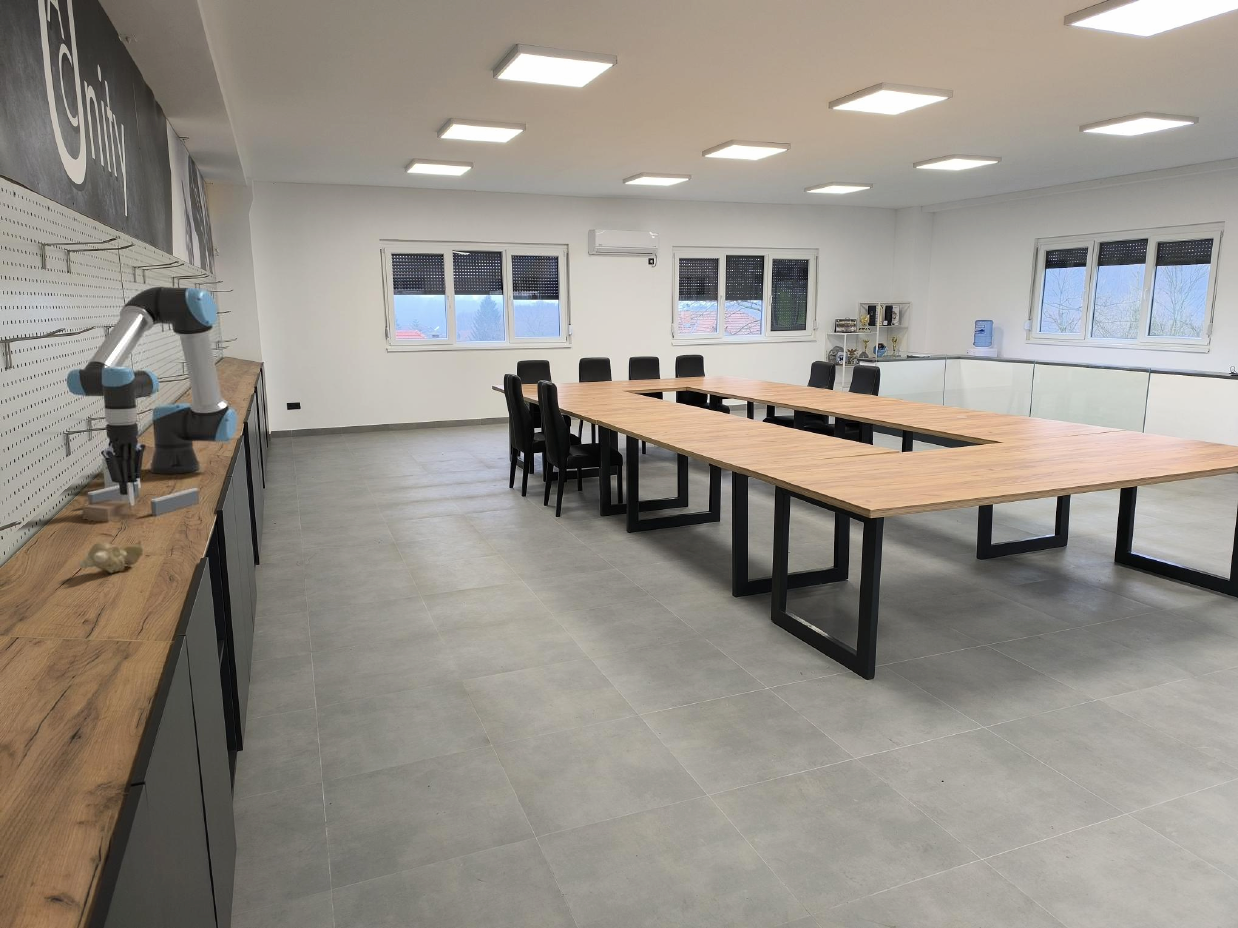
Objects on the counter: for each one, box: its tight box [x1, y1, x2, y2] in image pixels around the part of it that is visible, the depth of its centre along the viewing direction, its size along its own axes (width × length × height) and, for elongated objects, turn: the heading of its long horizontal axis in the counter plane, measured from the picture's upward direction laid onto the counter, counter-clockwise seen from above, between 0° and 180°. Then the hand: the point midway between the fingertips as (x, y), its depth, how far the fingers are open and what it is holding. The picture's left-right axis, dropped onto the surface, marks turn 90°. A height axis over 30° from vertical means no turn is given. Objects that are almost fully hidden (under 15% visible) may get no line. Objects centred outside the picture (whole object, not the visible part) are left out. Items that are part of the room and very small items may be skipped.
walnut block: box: [81, 500, 133, 523], centre depth 220 cm, size 8×8×4 cm
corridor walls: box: [87, 482, 200, 517], centre depth 233 cm, size 16×23×4 cm
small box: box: [101, 457, 141, 490], centre depth 250 cm, size 8×6×10 cm
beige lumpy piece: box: [78, 540, 144, 574], centre depth 177 cm, size 8×7×12 cm
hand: (128, 504), depth 228 cm, fingers closed
